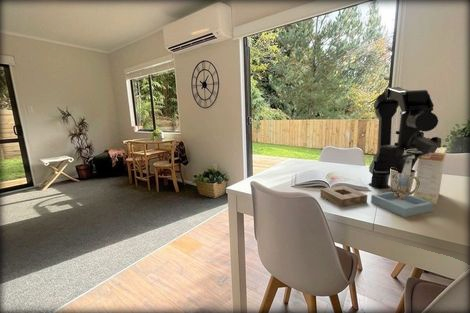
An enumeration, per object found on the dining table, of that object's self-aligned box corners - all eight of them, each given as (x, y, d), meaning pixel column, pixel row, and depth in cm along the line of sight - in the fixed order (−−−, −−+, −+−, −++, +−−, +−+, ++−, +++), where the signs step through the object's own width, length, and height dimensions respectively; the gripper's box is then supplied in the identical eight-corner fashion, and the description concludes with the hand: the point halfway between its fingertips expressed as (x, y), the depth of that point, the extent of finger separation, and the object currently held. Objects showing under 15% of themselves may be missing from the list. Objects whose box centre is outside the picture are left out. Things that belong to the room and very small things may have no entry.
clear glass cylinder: (401, 181, 84) (404, 152, 82) (414, 185, 79) (418, 154, 77) (391, 183, 83) (394, 153, 80) (404, 187, 78) (408, 156, 76)
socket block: (343, 191, 98) (344, 185, 98) (366, 202, 87) (367, 195, 86) (320, 195, 95) (320, 188, 94) (341, 207, 84) (341, 199, 83)
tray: (396, 197, 91) (397, 190, 90) (432, 211, 78) (433, 203, 78) (370, 202, 87) (371, 194, 86) (404, 217, 75) (405, 208, 74)
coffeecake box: (418, 189, 98) (424, 145, 94) (440, 193, 93) (447, 147, 89) (412, 200, 88) (418, 151, 84) (436, 205, 83) (444, 153, 79)
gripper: (413, 132, 67) (407, 182, 70) (457, 128, 72) (449, 175, 75) (380, 129, 77) (375, 173, 80) (420, 126, 82) (414, 167, 86)
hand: (404, 172), depth 80 cm, fingers closed on clear glass cylinder, 4 cm apart
